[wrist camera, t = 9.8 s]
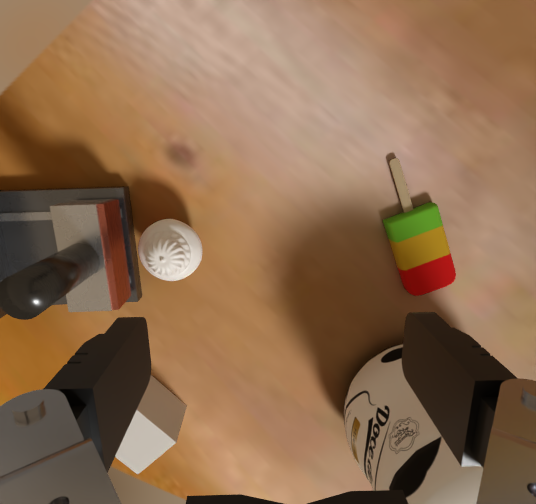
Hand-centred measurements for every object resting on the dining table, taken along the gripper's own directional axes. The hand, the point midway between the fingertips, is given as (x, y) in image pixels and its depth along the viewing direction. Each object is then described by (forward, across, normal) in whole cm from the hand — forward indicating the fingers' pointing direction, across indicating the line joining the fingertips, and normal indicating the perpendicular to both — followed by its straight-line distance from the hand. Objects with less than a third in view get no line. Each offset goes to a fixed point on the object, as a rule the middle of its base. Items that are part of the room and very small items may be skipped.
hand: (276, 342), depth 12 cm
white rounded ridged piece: (+29, +9, +4) cm, 30 cm away
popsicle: (+29, -16, +2) cm, 33 cm away
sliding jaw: (+27, +16, +4) cm, 31 cm away
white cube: (+29, +14, +24) cm, 40 cm away
